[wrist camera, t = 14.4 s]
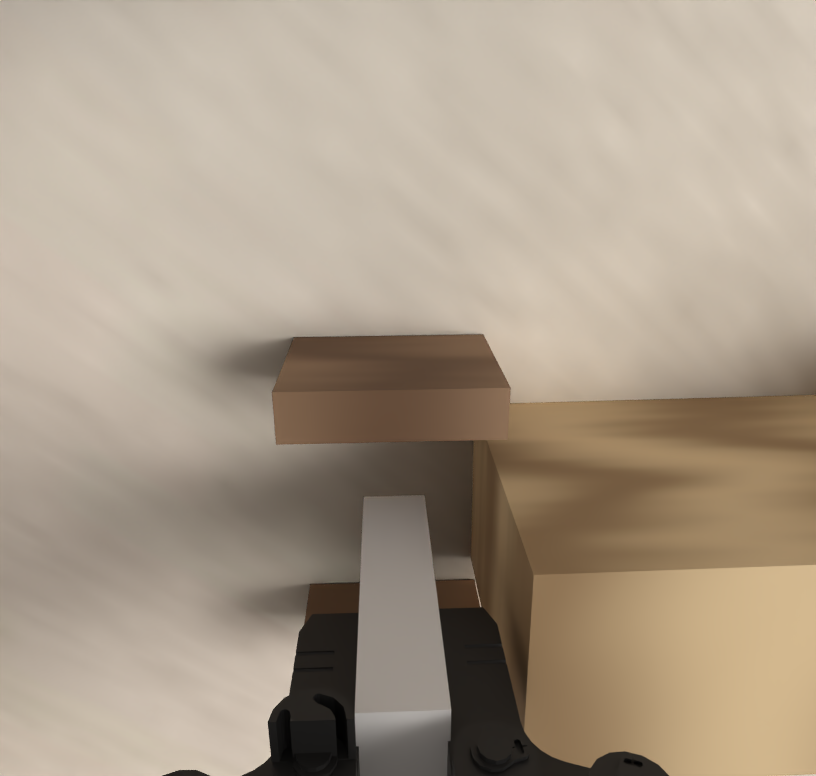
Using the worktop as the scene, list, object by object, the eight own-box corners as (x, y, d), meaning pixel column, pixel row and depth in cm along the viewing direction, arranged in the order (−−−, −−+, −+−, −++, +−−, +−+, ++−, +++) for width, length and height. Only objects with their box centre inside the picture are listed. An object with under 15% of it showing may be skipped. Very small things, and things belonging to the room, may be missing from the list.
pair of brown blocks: (312, 617, 21) (298, 721, 17) (293, 337, 18) (272, 392, 14) (473, 612, 21) (493, 714, 18) (483, 334, 18) (510, 388, 14)
